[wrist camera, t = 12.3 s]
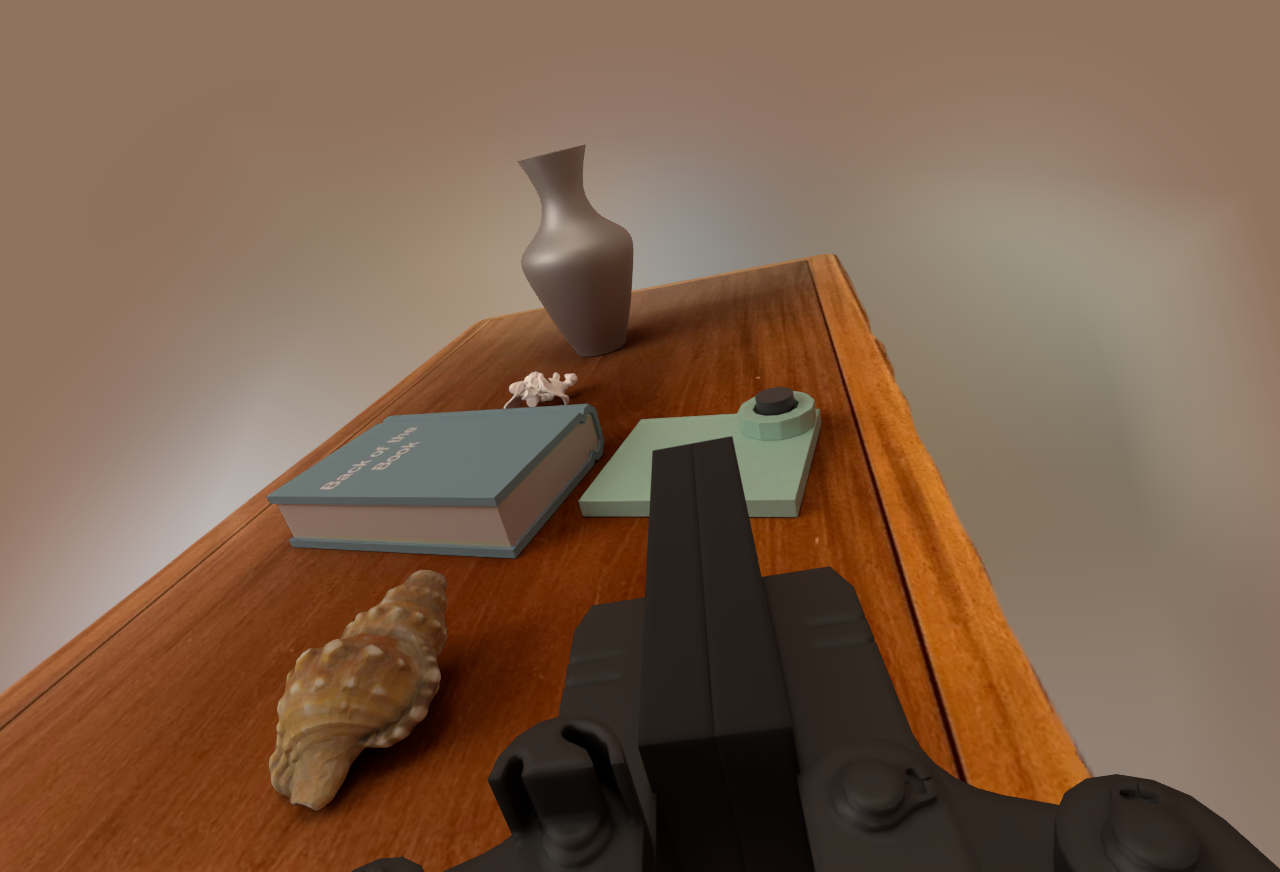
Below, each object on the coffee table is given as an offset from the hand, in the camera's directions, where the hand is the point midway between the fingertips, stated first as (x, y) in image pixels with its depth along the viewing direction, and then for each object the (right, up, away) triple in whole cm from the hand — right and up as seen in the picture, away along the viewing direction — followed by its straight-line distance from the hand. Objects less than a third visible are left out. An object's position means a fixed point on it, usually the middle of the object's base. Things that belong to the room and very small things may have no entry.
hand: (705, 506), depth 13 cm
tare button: (+10, +3, +41) cm, 42 cm away
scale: (+4, -1, +40) cm, 40 cm away
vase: (-6, +13, +78) cm, 79 cm away
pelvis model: (-12, +4, +62) cm, 63 cm away
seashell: (-15, -14, +23) cm, 31 cm away
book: (-17, -4, +46) cm, 49 cm away
